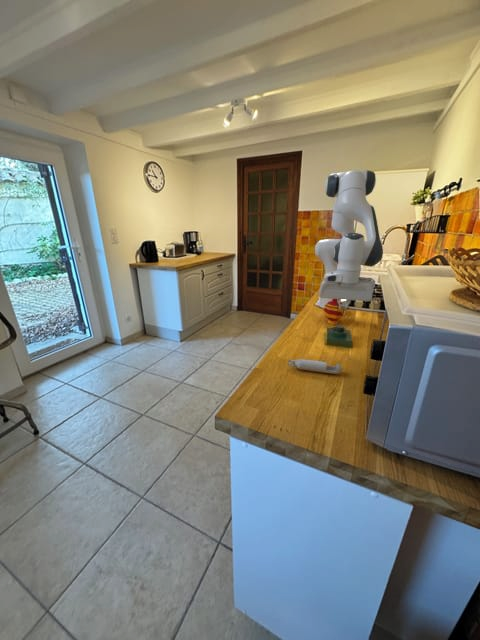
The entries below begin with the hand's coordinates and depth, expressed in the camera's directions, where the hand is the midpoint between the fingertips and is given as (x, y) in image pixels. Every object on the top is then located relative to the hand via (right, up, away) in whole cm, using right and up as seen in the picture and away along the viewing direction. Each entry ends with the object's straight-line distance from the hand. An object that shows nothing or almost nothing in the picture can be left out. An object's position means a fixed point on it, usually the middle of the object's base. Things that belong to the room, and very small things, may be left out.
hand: (342, 309), depth 106 cm
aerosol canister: (-19, -24, -25) cm, 40 cm away
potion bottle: (+5, -6, +24) cm, 25 cm away
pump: (0, -9, +3) cm, 10 cm away
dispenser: (0, -13, +5) cm, 14 cm away
